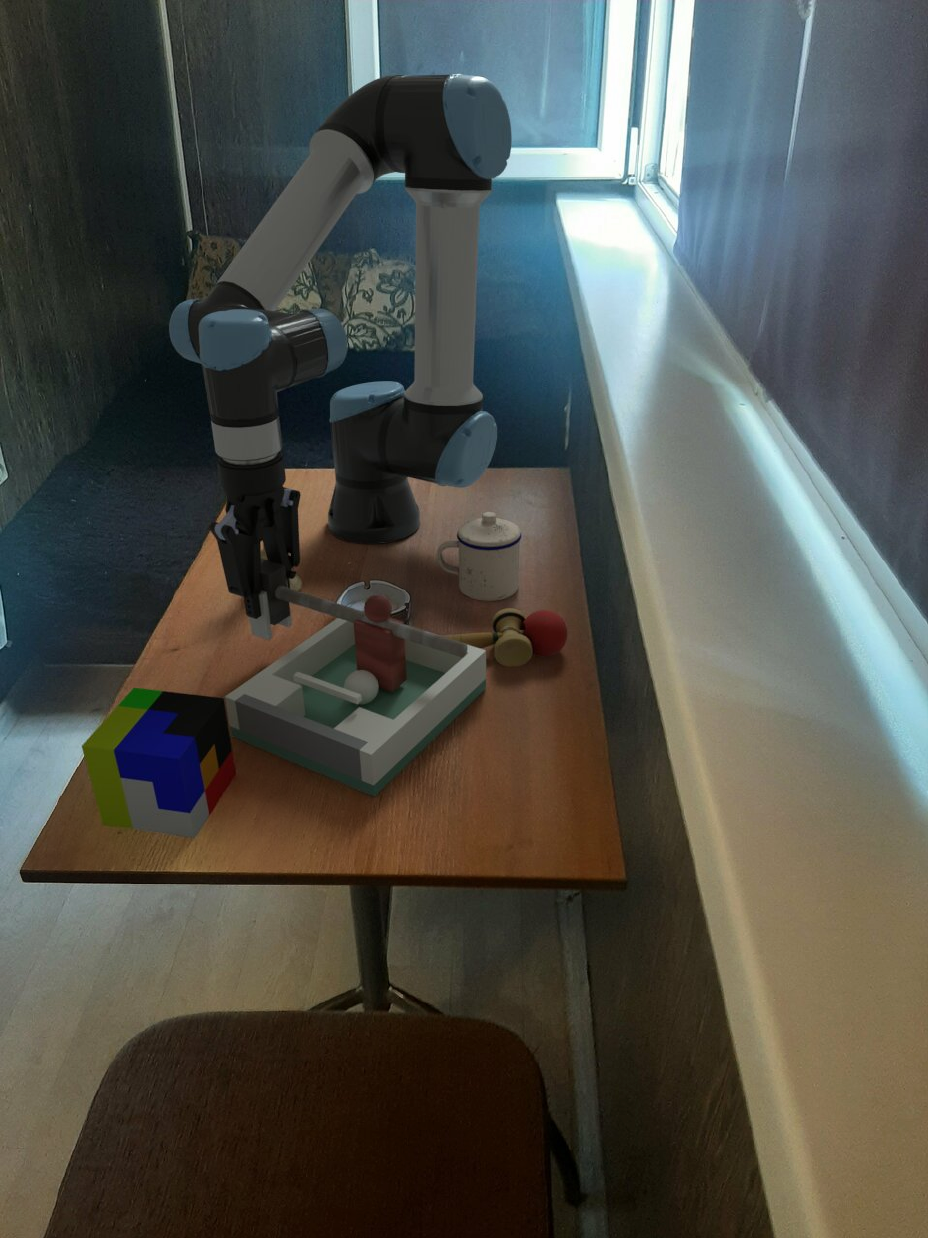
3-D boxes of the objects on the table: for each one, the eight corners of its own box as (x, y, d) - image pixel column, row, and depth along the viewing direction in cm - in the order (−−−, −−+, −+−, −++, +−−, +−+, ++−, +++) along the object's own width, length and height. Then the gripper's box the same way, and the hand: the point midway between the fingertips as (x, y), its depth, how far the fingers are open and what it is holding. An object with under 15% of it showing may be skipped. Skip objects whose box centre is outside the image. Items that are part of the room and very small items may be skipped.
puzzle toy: (195, 839, 93) (179, 758, 88) (102, 825, 95) (81, 746, 90) (236, 774, 102) (223, 698, 97) (150, 763, 103) (133, 687, 98)
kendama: (432, 686, 118) (574, 662, 118) (423, 639, 116) (568, 615, 116) (431, 662, 126) (565, 640, 125) (423, 618, 124) (559, 595, 123)
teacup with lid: (520, 573, 141) (521, 501, 135) (520, 603, 133) (522, 528, 128) (439, 572, 142) (438, 500, 136) (435, 602, 134) (433, 526, 128)
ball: (358, 688, 113) (356, 659, 111) (386, 698, 111) (384, 669, 109) (338, 704, 110) (335, 676, 108) (365, 715, 108) (363, 686, 106)
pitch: (354, 644, 124) (350, 595, 120) (485, 688, 115) (486, 637, 111) (231, 736, 107) (222, 683, 104) (374, 796, 98) (370, 740, 94)
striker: (270, 632, 123) (260, 553, 117) (471, 701, 109) (471, 615, 103) (253, 643, 120) (242, 563, 115) (457, 715, 107) (455, 628, 101)
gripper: (271, 427, 116) (291, 596, 127) (173, 469, 104) (204, 650, 116) (319, 438, 112) (335, 610, 124) (223, 482, 100) (250, 668, 112)
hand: (272, 629), depth 120 cm, fingers closed on striker, 3 cm apart
